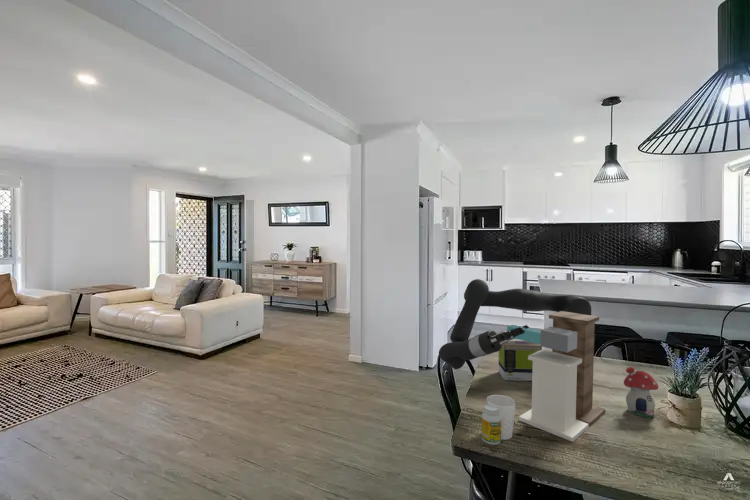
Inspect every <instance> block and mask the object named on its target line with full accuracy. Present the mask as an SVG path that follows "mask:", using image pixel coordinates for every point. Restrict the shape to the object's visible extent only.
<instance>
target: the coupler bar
mask: <svg viewBox="0 0 750 500" xmlns="http://www.w3.org/2000/svg"><path fill="white" fill-rule="evenodd" d="M519 327H522V326H520V325H516V324H511V325H508V326H506V328H507V329H506V331H508V330H513V329H516V328H519ZM522 329H523V331H524V333H523V334H520V335H518V336H515V337H513V338H515V339H520V340H524V341H528V342H532V343H536V344H540V346H542V348H546V349H551V350H552V349H554V350H558V351H562V352H567V353H568V352H570V351H572V350H574V349H576V348H577V332H576V331H571V330H565V329H560V328H555V327H553V326H548V327H545V328H543V329H540V330H539V329H535V328H530V327H529V328H526V327H522Z"/></svg>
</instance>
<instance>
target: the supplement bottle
mask: <svg viewBox="0 0 750 500" xmlns="http://www.w3.org/2000/svg"><path fill="white" fill-rule="evenodd" d="M483 408H484V409H483V412H482V414H481V440H482V441H483V442H484V443H486V444H488V445H493V446H495V445H499V444H500V443H501V442H502V440H501V416H500V415H499V407H495V406H493V405H491V404H487V403H486V404H484V407H483Z"/></svg>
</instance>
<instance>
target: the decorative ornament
mask: <svg viewBox="0 0 750 500" xmlns="http://www.w3.org/2000/svg"><path fill="white" fill-rule="evenodd" d="M625 372H626V373H627V374H628V375H627V376H626V377H625V378H624V380H623V385H624V387H627V388H629V389H630V390H629V391H628V392H627V395H626V397H625V403H626V406H627V410H628V411H629V413H630V414H631V415H635V416H637V417H641V418H647V419H649V418H650V419H651V418H654V417H655V407H656V401H655V398H654V397H653V395H652V394H651V392H650V391H656V390H659V385H658V383H657V381H656V379H655V378H654V377H653V376H652V375H650V373H648V372H646V371H642V370H635V368H634V367H632V366H629V367H627V368H626V370H625Z"/></svg>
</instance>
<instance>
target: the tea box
mask: <svg viewBox="0 0 750 500" xmlns="http://www.w3.org/2000/svg"><path fill="white" fill-rule="evenodd" d="M540 350H543V347H542V346H540V344H536V343H532V342H528V341H524V340H520V339H513V340H510V341H508V342H506V343H503V344H502V347H501V350H500V351H498V372H499V374H500V375H501V377H502V379H503V380H504V381H524V382H525V381H526V382H532V370H533V361H532V360H528V356H529V355H531V354H533V353H536V352H538V351H540Z"/></svg>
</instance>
